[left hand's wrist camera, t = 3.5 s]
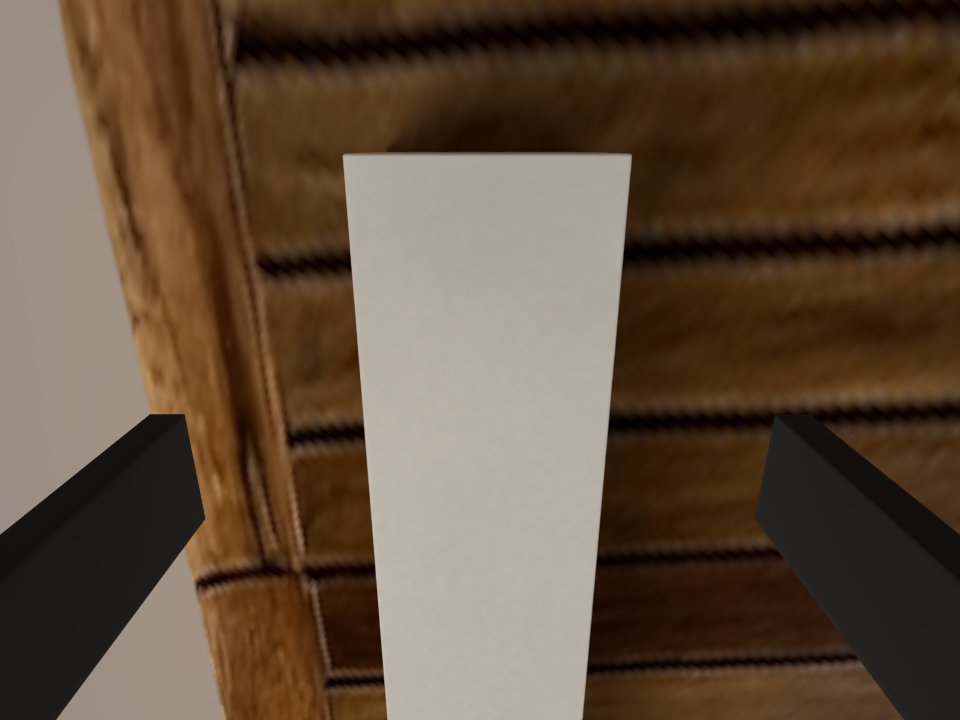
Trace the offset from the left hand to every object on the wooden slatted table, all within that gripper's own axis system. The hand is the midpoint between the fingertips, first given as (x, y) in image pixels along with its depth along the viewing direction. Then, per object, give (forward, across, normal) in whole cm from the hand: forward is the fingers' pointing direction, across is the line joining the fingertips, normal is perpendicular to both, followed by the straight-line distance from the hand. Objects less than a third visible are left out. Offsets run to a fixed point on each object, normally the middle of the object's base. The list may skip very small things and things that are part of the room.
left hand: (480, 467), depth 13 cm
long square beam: (+14, 0, -26) cm, 30 cm away
